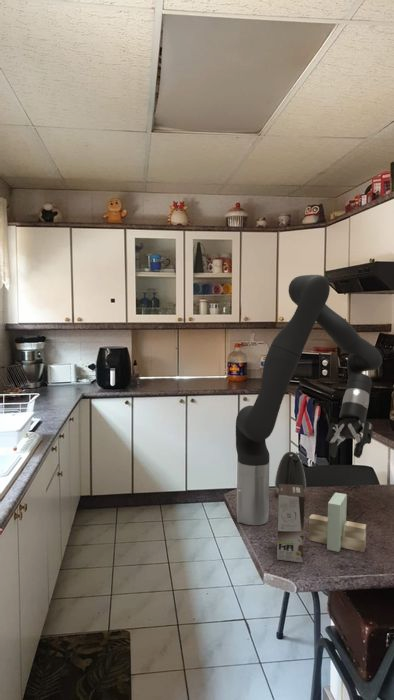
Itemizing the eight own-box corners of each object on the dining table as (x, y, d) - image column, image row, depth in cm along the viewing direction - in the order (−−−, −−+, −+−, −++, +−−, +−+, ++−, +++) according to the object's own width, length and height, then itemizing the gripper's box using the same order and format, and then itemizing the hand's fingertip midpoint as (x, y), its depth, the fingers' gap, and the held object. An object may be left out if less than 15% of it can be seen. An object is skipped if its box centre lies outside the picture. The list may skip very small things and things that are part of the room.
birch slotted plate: (308, 540, 123) (309, 517, 123) (311, 535, 126) (311, 513, 126) (363, 552, 117) (364, 528, 117) (365, 547, 120) (366, 524, 119)
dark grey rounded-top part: (283, 503, 149) (284, 457, 149) (269, 492, 159) (270, 449, 159) (311, 500, 152) (312, 455, 152) (296, 490, 162) (297, 447, 162)
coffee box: (303, 563, 111) (305, 496, 110) (276, 560, 112) (277, 494, 112) (302, 546, 120) (304, 484, 119) (277, 543, 121) (278, 482, 121)
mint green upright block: (338, 552, 117) (340, 505, 116) (326, 549, 118) (328, 503, 118) (345, 538, 125) (346, 494, 124) (334, 535, 126) (335, 492, 126)
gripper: (328, 402, 146) (317, 451, 139) (367, 398, 134) (357, 451, 128) (343, 413, 149) (332, 461, 142) (382, 410, 138) (373, 462, 131)
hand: (344, 456), depth 135 cm, fingers open, 8 cm apart
